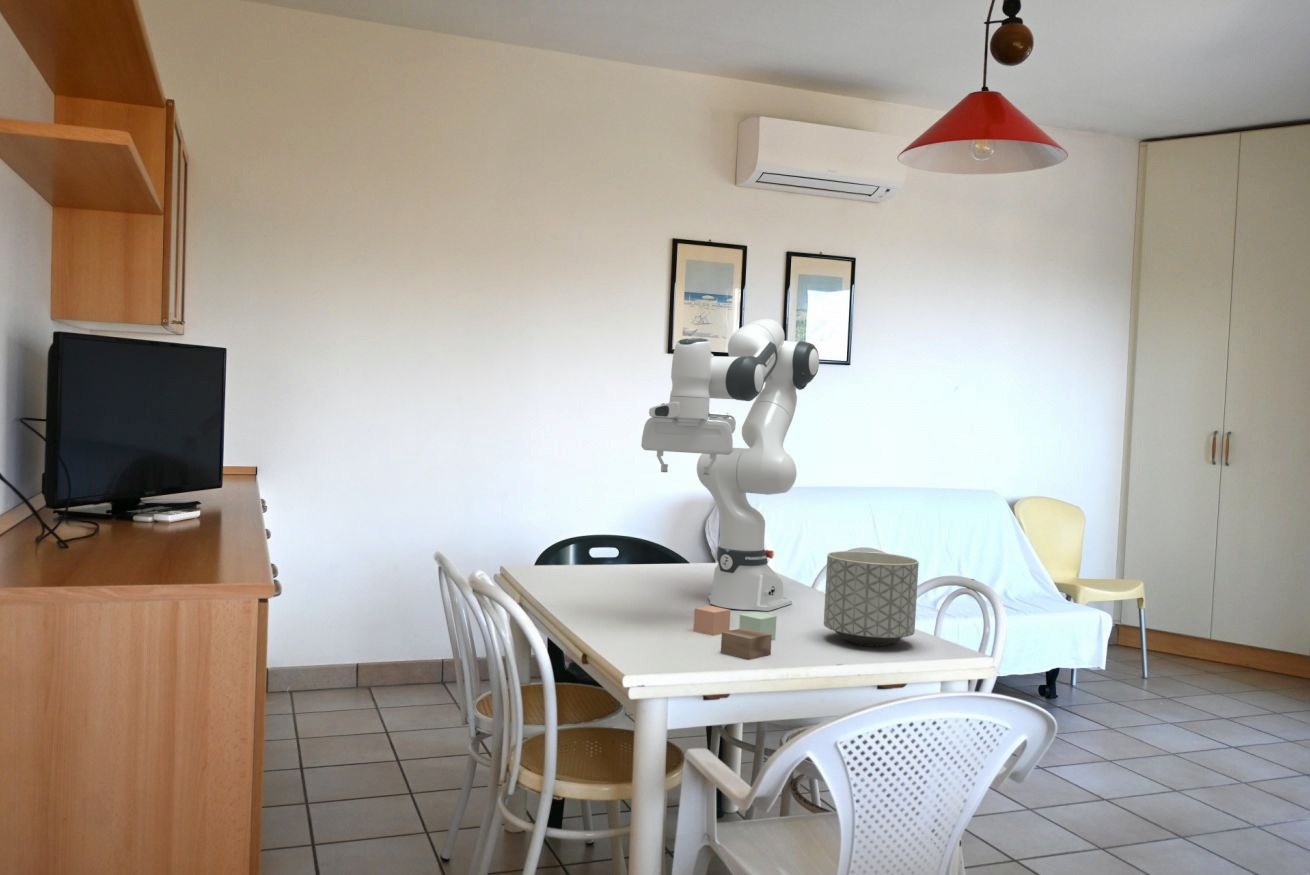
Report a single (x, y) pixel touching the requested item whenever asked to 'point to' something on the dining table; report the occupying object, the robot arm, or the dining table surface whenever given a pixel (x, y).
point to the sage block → (759, 623)
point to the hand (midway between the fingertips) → (685, 473)
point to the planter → (870, 596)
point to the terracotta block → (711, 620)
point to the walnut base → (746, 643)
